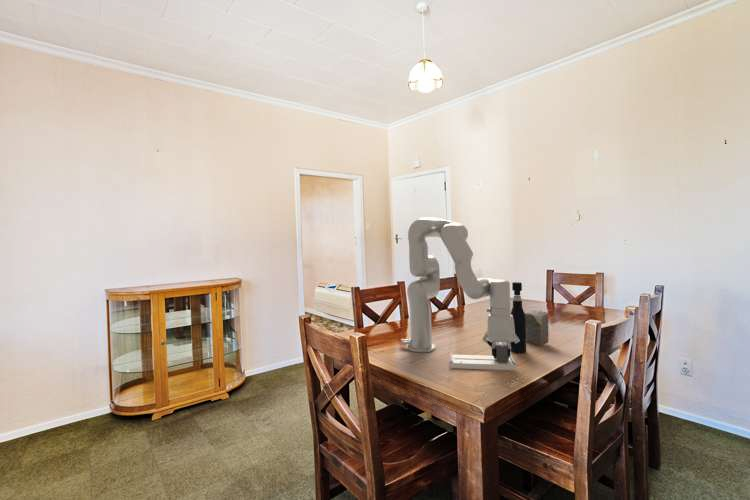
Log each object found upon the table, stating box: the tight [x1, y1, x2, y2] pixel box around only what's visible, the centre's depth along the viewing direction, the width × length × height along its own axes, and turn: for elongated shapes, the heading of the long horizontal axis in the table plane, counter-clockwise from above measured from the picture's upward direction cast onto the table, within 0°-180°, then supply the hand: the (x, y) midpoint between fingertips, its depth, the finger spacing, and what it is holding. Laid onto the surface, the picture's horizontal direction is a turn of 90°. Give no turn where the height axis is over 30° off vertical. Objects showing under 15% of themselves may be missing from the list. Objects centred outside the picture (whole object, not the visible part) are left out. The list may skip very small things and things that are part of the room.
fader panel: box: [449, 352, 517, 371], centre depth 142 cm, size 24×10×3 cm, turn 78°
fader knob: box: [495, 342, 508, 362], centre depth 141 cm, size 4×6×6 cm, turn 168°
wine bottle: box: [510, 281, 527, 355], centre depth 156 cm, size 6×6×30 cm
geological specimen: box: [524, 309, 550, 346], centre depth 168 cm, size 11×6×15 cm, turn 25°
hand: (501, 357), depth 141 cm, fingers closed on fader knob, 4 cm apart
